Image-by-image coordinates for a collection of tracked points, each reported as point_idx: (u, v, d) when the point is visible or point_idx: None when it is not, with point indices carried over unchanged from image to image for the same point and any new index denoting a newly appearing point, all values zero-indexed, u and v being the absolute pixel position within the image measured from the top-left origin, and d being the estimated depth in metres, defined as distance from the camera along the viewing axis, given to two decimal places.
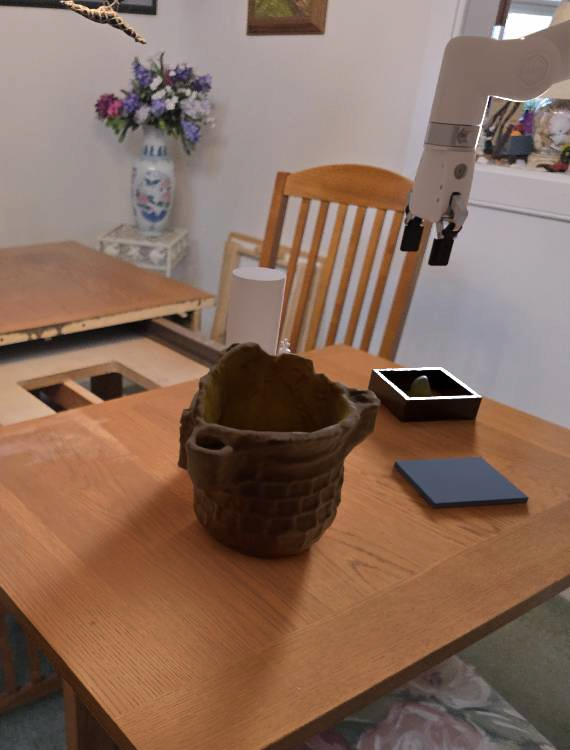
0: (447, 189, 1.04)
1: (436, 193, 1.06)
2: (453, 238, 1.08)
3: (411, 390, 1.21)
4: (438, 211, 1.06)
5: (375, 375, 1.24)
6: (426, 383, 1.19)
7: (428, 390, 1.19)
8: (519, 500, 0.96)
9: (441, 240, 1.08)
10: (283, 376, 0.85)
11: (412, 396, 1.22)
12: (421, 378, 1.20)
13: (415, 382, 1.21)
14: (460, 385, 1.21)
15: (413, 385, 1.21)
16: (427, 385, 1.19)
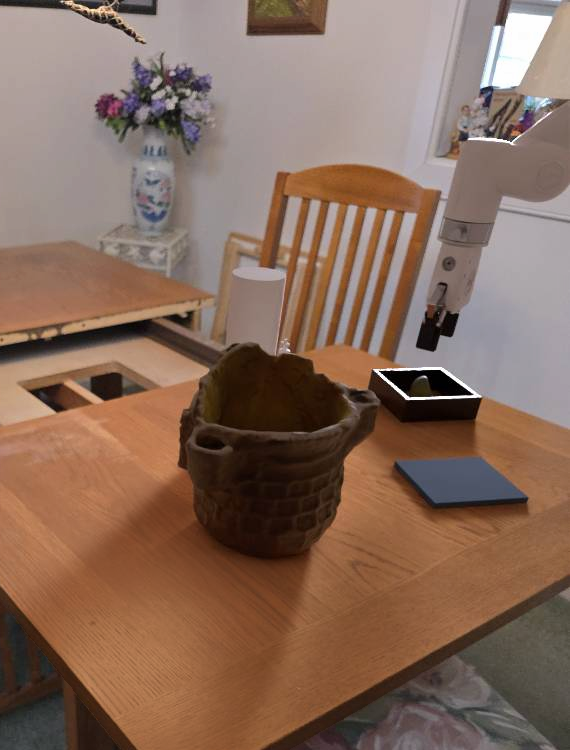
0: (434, 278, 1.08)
1: None
2: (435, 326, 1.10)
3: (411, 390, 1.21)
4: (426, 297, 1.10)
5: (375, 375, 1.24)
6: (426, 383, 1.19)
7: (428, 390, 1.19)
8: (519, 500, 0.96)
9: (425, 325, 1.11)
10: (283, 376, 0.85)
11: (412, 396, 1.22)
12: (421, 378, 1.20)
13: (415, 382, 1.21)
14: (460, 385, 1.21)
15: (413, 385, 1.21)
16: (427, 385, 1.19)
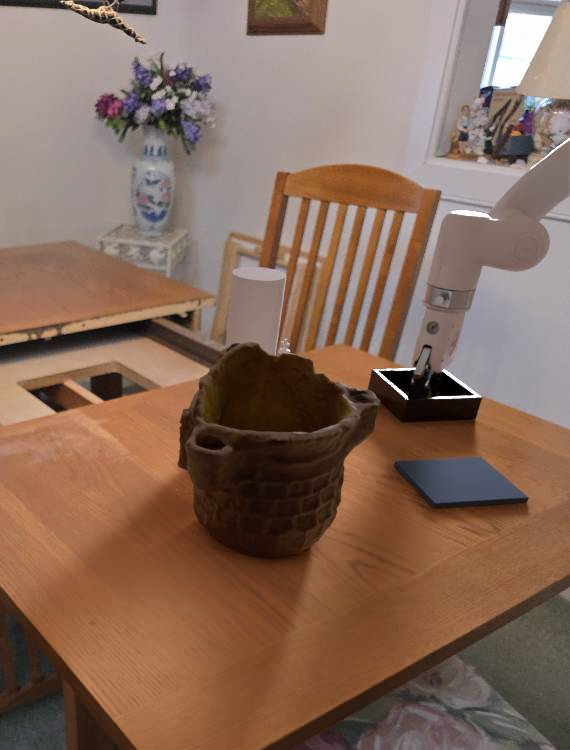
0: (419, 340, 1.14)
1: None
2: (424, 387, 1.18)
3: None
4: (413, 358, 1.16)
5: (375, 375, 1.24)
6: None
7: None
8: (519, 500, 0.96)
9: (414, 386, 1.19)
10: (283, 376, 0.85)
11: None
12: None
13: None
14: (460, 385, 1.21)
15: None
16: None
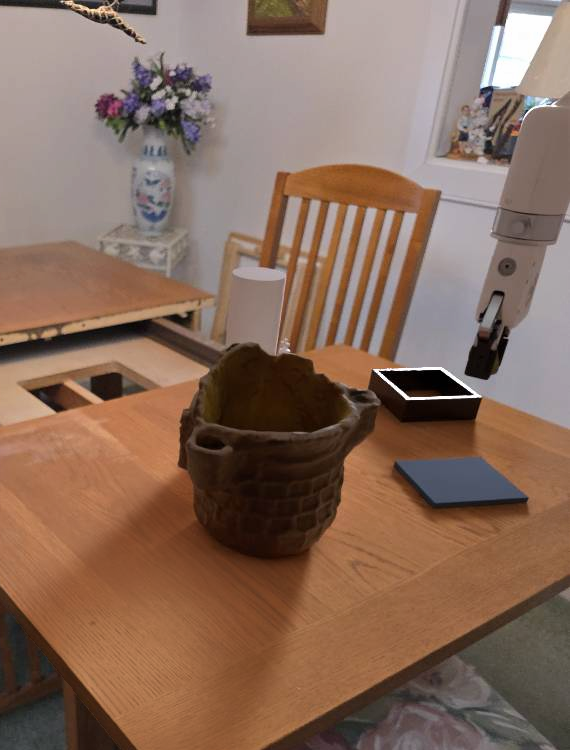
0: (488, 285, 0.86)
1: None
2: (490, 349, 0.90)
3: None
4: (477, 309, 0.88)
5: (375, 375, 1.24)
6: None
7: None
8: (519, 500, 0.96)
9: (477, 348, 0.91)
10: (283, 376, 0.85)
11: None
12: None
13: None
14: (460, 385, 1.21)
15: None
16: None
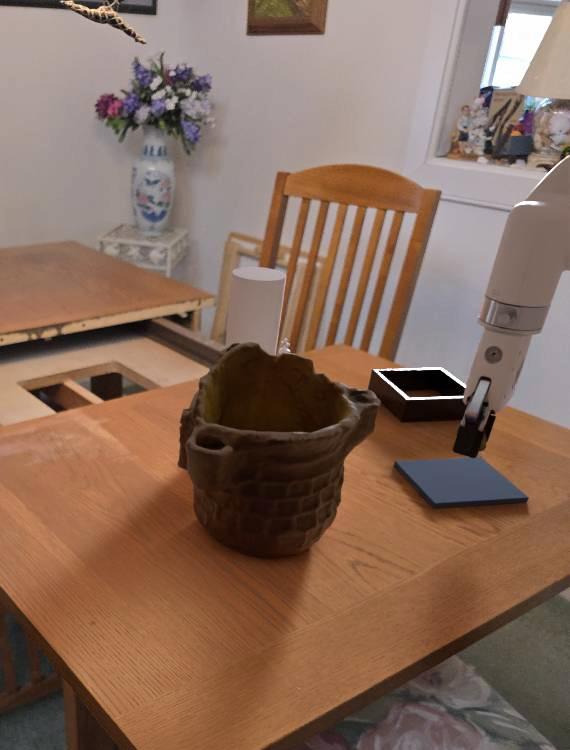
0: (475, 371, 0.87)
1: None
2: (478, 430, 0.91)
3: None
4: (464, 393, 0.89)
5: (375, 375, 1.24)
6: None
7: None
8: (519, 500, 0.96)
9: (464, 428, 0.92)
10: (283, 376, 0.85)
11: None
12: None
13: None
14: (460, 385, 1.21)
15: None
16: None
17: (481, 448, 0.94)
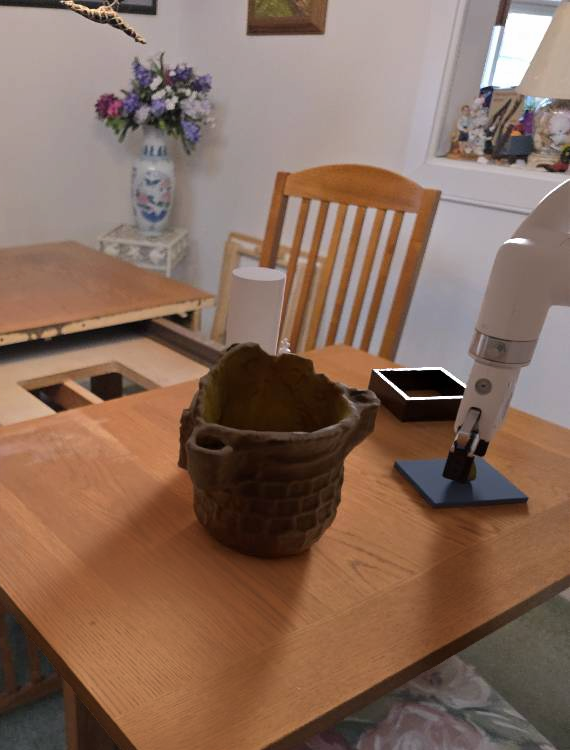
0: (465, 402, 0.90)
1: None
2: (467, 456, 0.91)
3: None
4: (456, 422, 0.92)
5: (375, 375, 1.24)
6: None
7: (472, 464, 0.96)
8: (519, 500, 0.96)
9: (454, 454, 0.93)
10: (283, 376, 0.85)
11: None
12: None
13: None
14: (460, 385, 1.21)
15: None
16: None
17: (471, 478, 0.97)
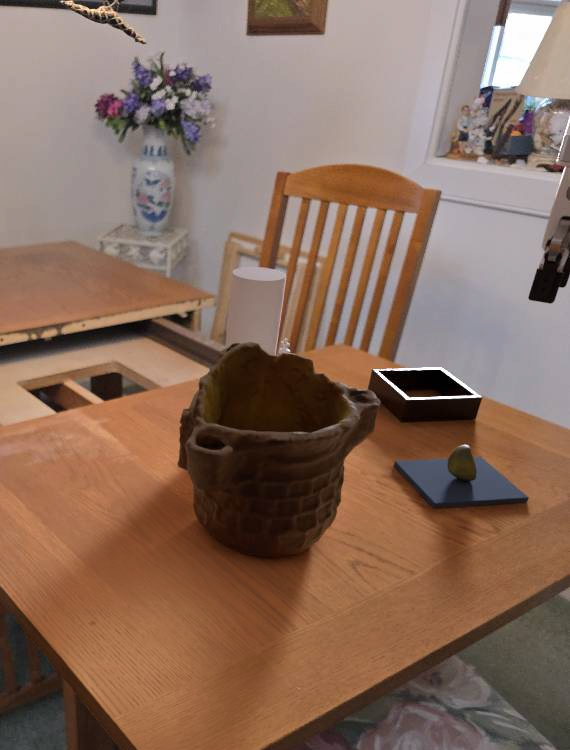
0: (556, 212, 0.89)
1: (549, 216, 0.91)
2: (557, 271, 0.91)
3: (450, 462, 0.98)
4: (544, 237, 0.91)
5: (375, 375, 1.24)
6: (469, 455, 0.96)
7: (472, 464, 0.96)
8: (519, 500, 0.96)
9: None
10: (283, 376, 0.85)
11: (451, 470, 0.98)
12: (463, 448, 0.97)
13: (455, 453, 0.97)
14: (460, 385, 1.21)
15: (452, 456, 0.98)
16: (471, 457, 0.96)
17: (471, 478, 0.97)
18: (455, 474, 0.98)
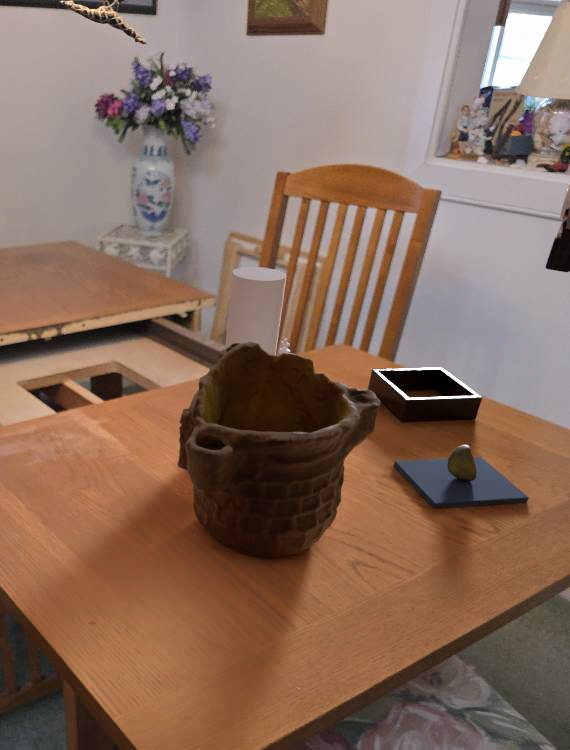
0: None
1: (568, 186, 0.93)
2: None
3: (450, 462, 0.98)
4: (563, 206, 0.93)
5: (375, 375, 1.24)
6: (469, 455, 0.96)
7: (472, 464, 0.96)
8: (519, 500, 0.96)
9: (560, 240, 0.95)
10: (283, 376, 0.85)
11: (451, 470, 0.98)
12: (463, 448, 0.97)
13: (455, 453, 0.97)
14: (460, 385, 1.21)
15: (452, 456, 0.98)
16: (471, 457, 0.96)
17: (471, 478, 0.97)
18: (455, 474, 0.98)
